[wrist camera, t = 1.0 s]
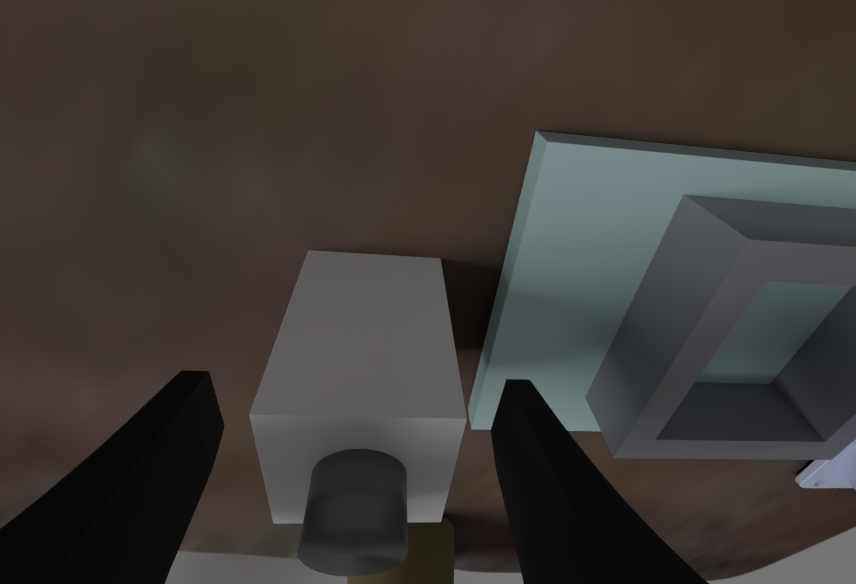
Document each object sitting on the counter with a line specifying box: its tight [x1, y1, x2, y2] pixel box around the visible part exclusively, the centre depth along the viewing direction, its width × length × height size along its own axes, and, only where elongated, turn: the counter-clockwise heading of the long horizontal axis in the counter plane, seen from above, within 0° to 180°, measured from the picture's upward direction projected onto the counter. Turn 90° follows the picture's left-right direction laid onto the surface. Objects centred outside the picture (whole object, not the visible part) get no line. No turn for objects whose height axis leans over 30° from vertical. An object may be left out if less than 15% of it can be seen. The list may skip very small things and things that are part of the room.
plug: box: [249, 250, 467, 576], centre depth 11 cm, size 4×4×8 cm
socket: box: [468, 131, 856, 460], centre depth 13 cm, size 16×11×4 cm
